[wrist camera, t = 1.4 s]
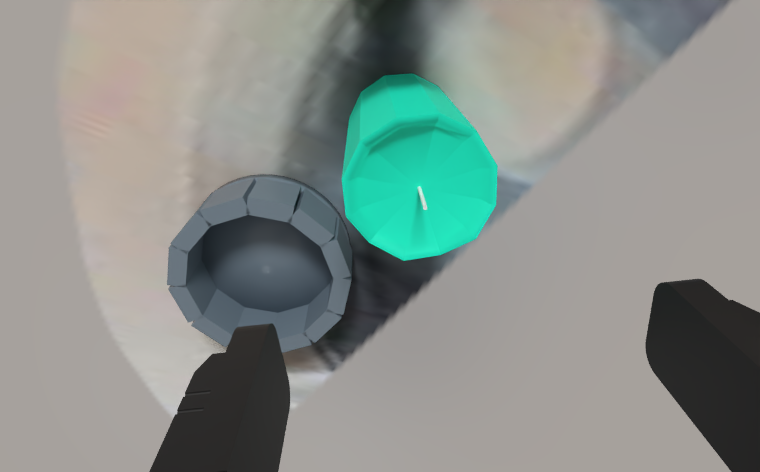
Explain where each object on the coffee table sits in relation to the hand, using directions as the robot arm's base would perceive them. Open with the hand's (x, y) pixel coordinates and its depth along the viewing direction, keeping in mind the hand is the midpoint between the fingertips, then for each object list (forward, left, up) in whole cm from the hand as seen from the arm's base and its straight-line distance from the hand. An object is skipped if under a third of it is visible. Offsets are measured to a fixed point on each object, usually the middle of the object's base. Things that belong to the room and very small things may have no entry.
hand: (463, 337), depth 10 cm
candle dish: (+10, +5, -19) cm, 22 cm away
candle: (0, 0, -19) cm, 19 cm away
